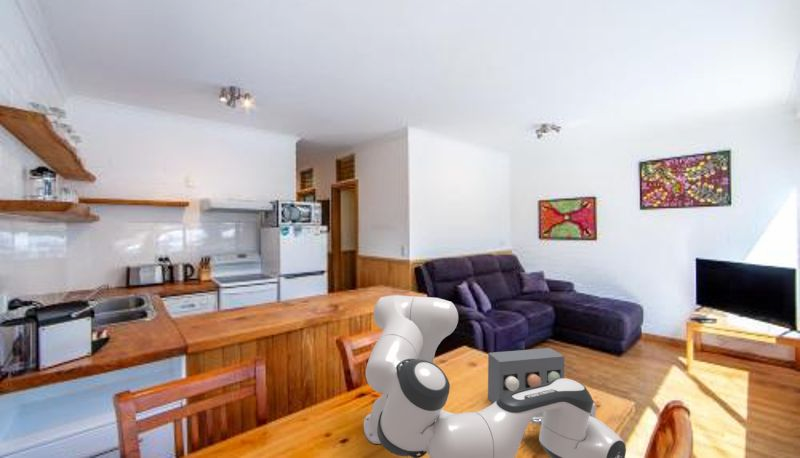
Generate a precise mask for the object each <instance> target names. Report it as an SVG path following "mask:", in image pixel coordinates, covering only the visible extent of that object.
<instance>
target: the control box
mask: <svg viewBox="0 0 800 458" xmlns="http://www.w3.org/2000/svg"><path fill="white" fill-rule="evenodd" d="M487 354H488V355H487V357H488V359H487V360H488V361H487V365H488V366H487V367H488V369H487V399H488V400H489V401H490V402H491V403H492V404H493V403H494V402H496V401H497V400H498V399H499V398H500V397H501V396H502V395H504V394H506V393H510V392H513V391H510V390H509V389H508V388H507V387H506V386H505V384H504V381H505V379H506V377H508V376H514V377H515V378H516V379H517V380H518V381H519V387H518V389H517V390H521V389H526V388H530V387H531V386H529V385H528V384H527V381H526V379H527V377H528V375H529V374H532V373H534V374H536V375H537V376H539V377H540V378H541V385H543V384H546V383H548V381H547V371H550V370H554V371H556V372H557V373H558V374H559V375H560V378H565V355H563V354H561V353H560V352H558V351H556V350H554V349H552V348H551V347H544V348H534V349H533V348H531V349H521V350H519V349H518V350H507V351H495V352H488V353H487ZM517 390H515V391H517Z"/></svg>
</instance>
